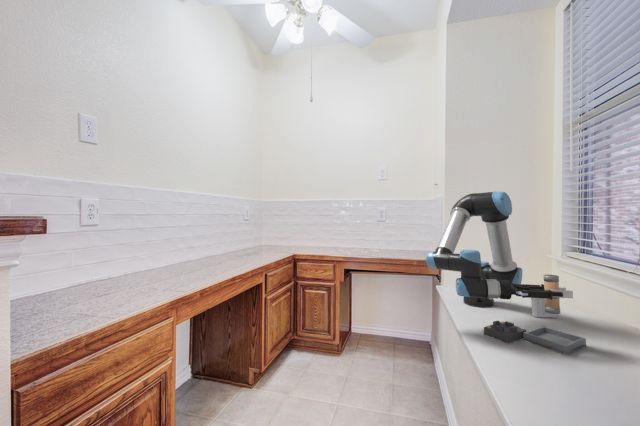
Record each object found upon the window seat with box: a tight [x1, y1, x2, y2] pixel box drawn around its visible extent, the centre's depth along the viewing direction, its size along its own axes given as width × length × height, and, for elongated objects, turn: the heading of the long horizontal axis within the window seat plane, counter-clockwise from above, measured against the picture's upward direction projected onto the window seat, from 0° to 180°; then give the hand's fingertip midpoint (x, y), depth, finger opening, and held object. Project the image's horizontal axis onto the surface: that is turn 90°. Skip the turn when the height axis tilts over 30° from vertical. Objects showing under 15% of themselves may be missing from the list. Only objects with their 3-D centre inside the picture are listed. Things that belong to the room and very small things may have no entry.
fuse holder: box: [483, 320, 527, 344], centre depth 117 cm, size 12×10×5 cm
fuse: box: [543, 274, 561, 315], centre depth 110 cm, size 5×5×14 cm
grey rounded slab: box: [530, 298, 558, 318], centre depth 138 cm, size 10×4×12 cm, turn 86°
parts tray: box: [523, 325, 587, 356], centre depth 110 cm, size 14×14×3 cm
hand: (568, 292), depth 108 cm, fingers closed on fuse, 4 cm apart
